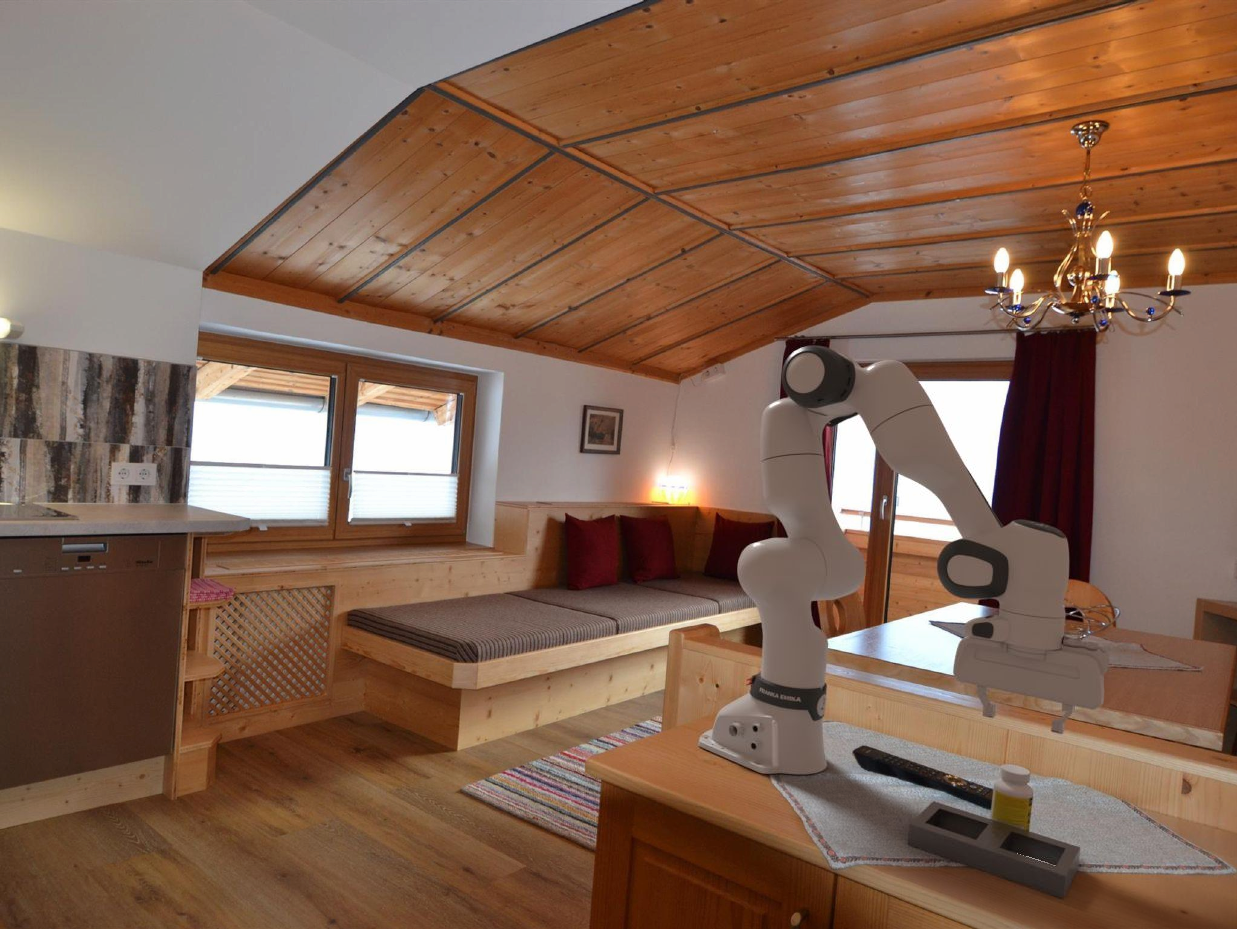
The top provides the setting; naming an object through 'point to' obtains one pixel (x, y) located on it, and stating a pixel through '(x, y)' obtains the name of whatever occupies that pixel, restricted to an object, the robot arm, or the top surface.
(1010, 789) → the supplement bottle
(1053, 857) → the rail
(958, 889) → the top surface
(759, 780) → the top surface
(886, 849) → the top surface
